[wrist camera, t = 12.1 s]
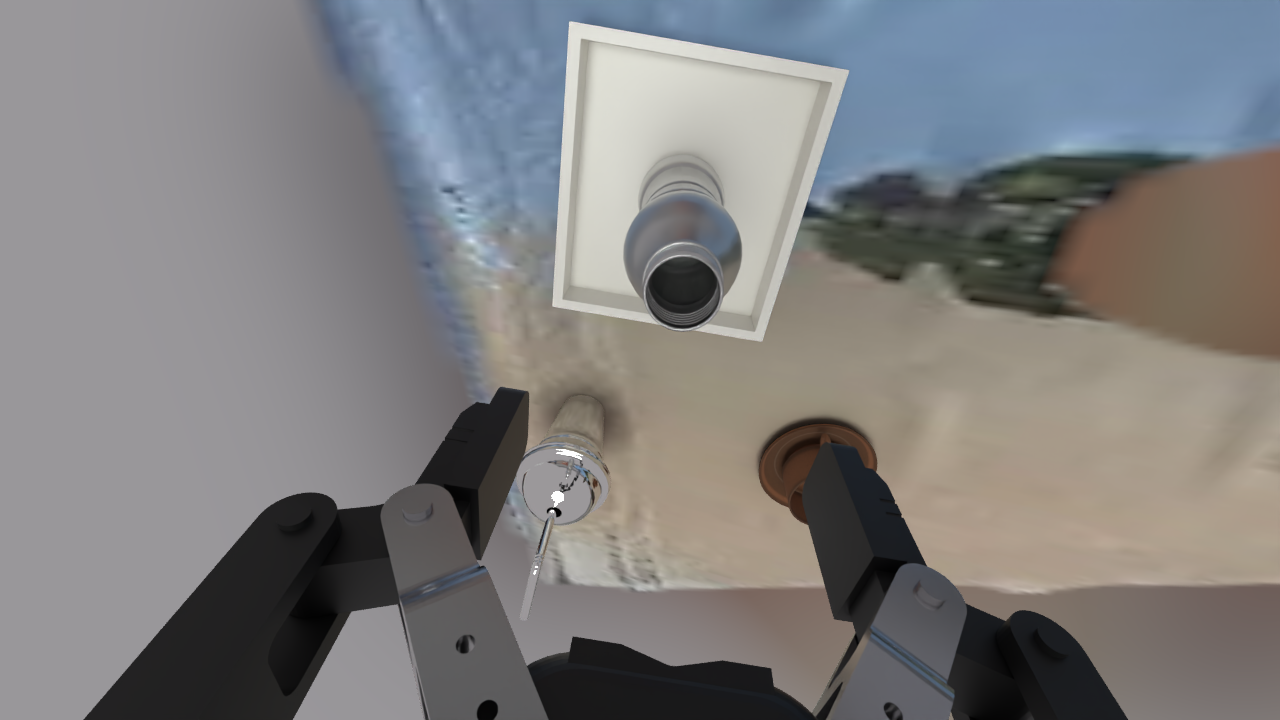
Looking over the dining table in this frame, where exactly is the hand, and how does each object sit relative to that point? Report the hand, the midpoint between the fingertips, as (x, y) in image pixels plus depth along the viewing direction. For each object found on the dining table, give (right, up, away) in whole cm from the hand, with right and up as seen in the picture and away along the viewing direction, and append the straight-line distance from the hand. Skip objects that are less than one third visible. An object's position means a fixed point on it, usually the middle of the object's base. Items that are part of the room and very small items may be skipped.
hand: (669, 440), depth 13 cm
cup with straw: (-7, -3, +39) cm, 39 cm away
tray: (+2, +16, +26) cm, 31 cm away
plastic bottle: (+2, +15, +25) cm, 30 cm away
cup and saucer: (+18, -8, +40) cm, 44 cm away
